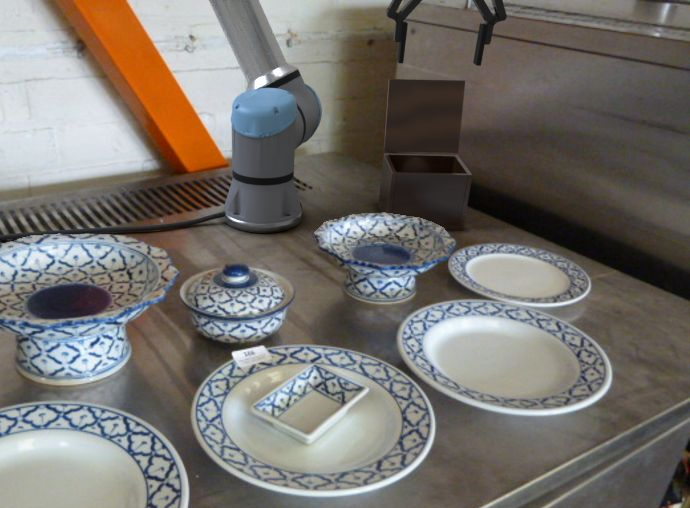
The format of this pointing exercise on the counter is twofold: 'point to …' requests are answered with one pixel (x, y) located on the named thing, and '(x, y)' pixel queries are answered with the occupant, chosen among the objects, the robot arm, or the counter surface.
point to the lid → (424, 115)
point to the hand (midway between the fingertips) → (438, 63)
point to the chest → (426, 188)
